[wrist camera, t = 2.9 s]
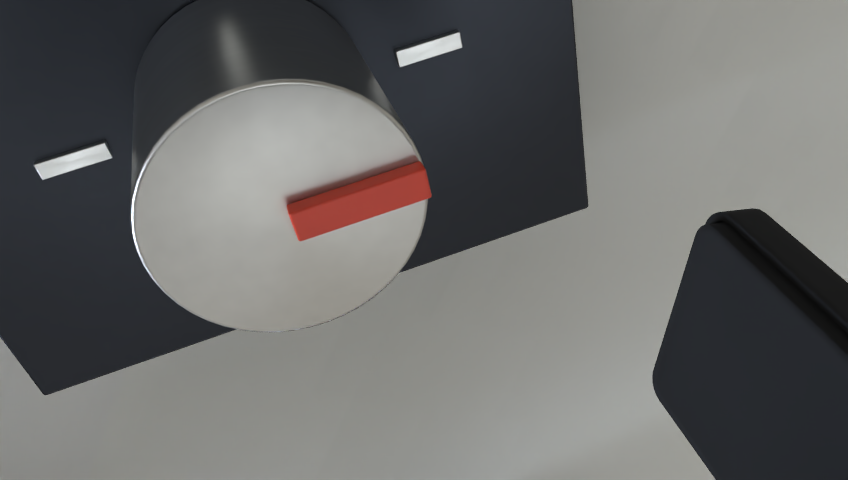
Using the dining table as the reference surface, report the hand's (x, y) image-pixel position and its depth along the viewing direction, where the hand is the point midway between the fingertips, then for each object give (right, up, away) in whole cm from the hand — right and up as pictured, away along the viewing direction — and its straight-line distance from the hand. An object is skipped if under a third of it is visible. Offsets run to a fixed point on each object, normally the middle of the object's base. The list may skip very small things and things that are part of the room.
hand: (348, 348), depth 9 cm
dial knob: (-2, +4, +6) cm, 8 cm away
